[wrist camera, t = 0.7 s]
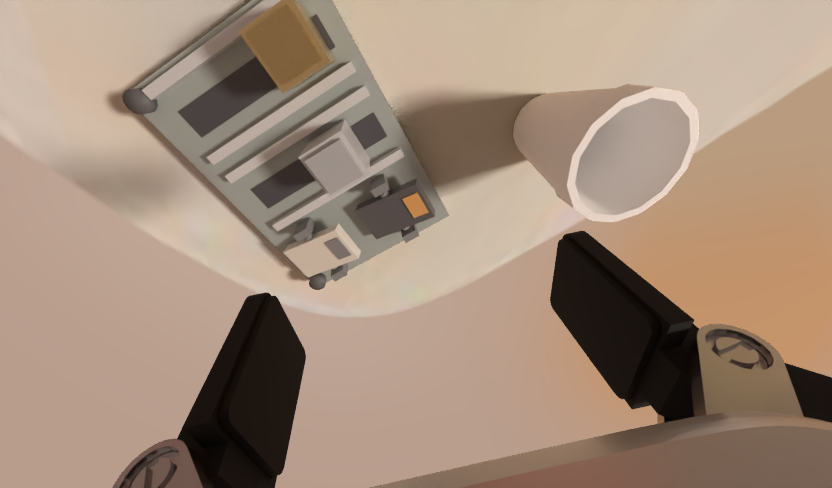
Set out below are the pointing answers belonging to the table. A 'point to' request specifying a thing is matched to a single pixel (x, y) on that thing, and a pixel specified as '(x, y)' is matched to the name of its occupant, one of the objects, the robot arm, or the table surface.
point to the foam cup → (609, 146)
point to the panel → (282, 132)
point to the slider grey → (336, 159)
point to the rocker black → (396, 209)
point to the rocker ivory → (323, 251)
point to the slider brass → (287, 44)
